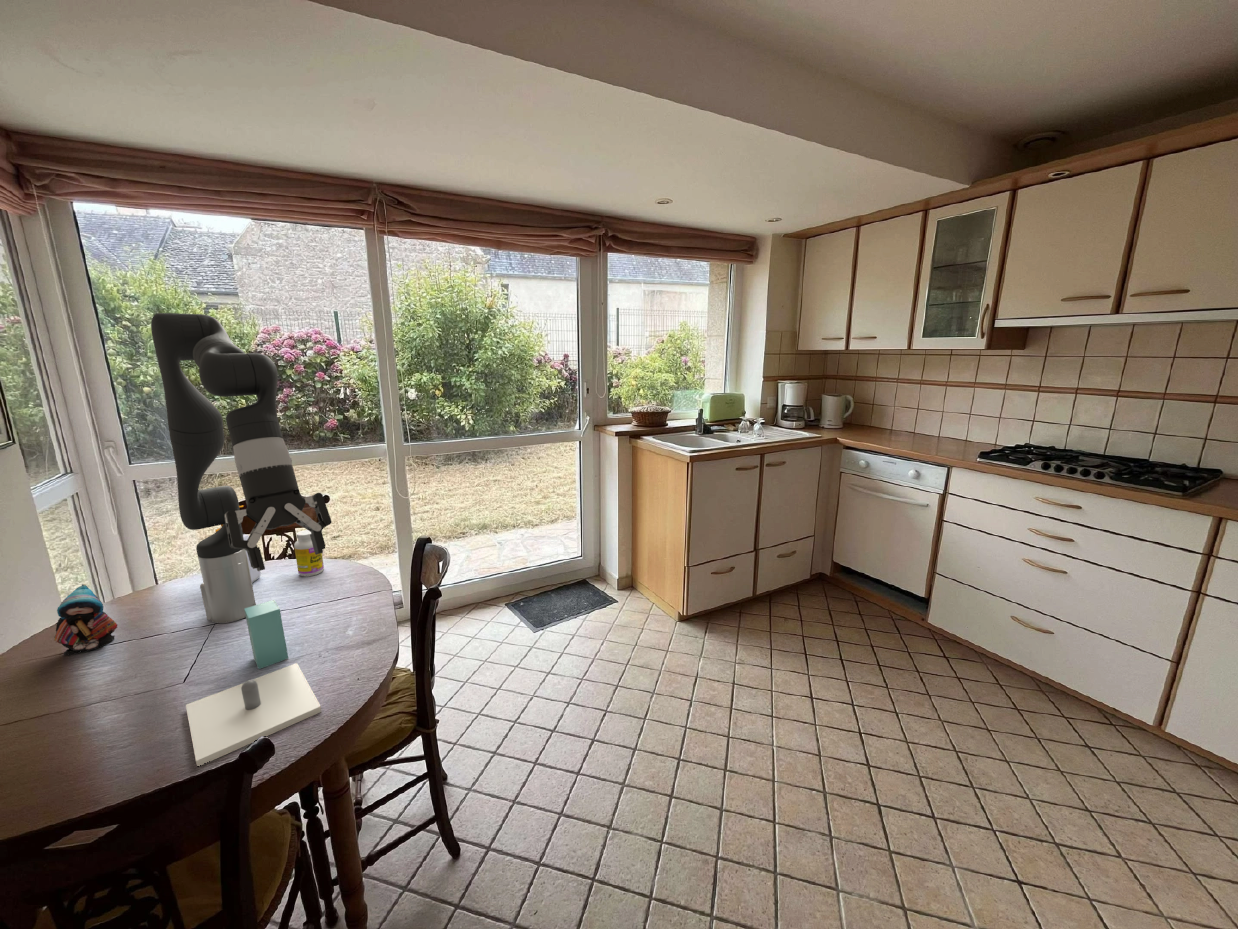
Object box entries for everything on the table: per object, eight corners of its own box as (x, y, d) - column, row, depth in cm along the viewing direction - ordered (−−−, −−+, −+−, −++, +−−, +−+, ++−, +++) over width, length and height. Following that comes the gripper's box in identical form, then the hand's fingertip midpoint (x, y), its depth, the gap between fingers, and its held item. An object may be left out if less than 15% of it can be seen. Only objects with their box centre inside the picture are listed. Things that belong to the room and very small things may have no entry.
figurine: (55, 664, 106) (36, 601, 103) (62, 649, 112) (44, 588, 108) (120, 647, 112) (104, 586, 109) (124, 633, 118) (108, 575, 114)
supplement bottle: (312, 578, 146) (306, 537, 143) (293, 576, 147) (286, 535, 144) (329, 568, 152) (323, 529, 149) (311, 566, 153) (305, 527, 150)
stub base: (197, 767, 81) (189, 734, 79) (187, 710, 93) (180, 680, 92) (321, 711, 93) (316, 682, 91) (297, 668, 105) (293, 641, 104)
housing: (258, 669, 105) (248, 618, 102) (253, 658, 109) (244, 608, 106) (288, 658, 109) (279, 608, 106) (282, 647, 112) (274, 599, 110)
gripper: (306, 465, 91) (330, 550, 91) (208, 481, 80) (235, 577, 80) (319, 456, 86) (343, 547, 86) (216, 472, 75) (244, 575, 75)
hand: (291, 561), depth 83 cm, fingers open, 8 cm apart
